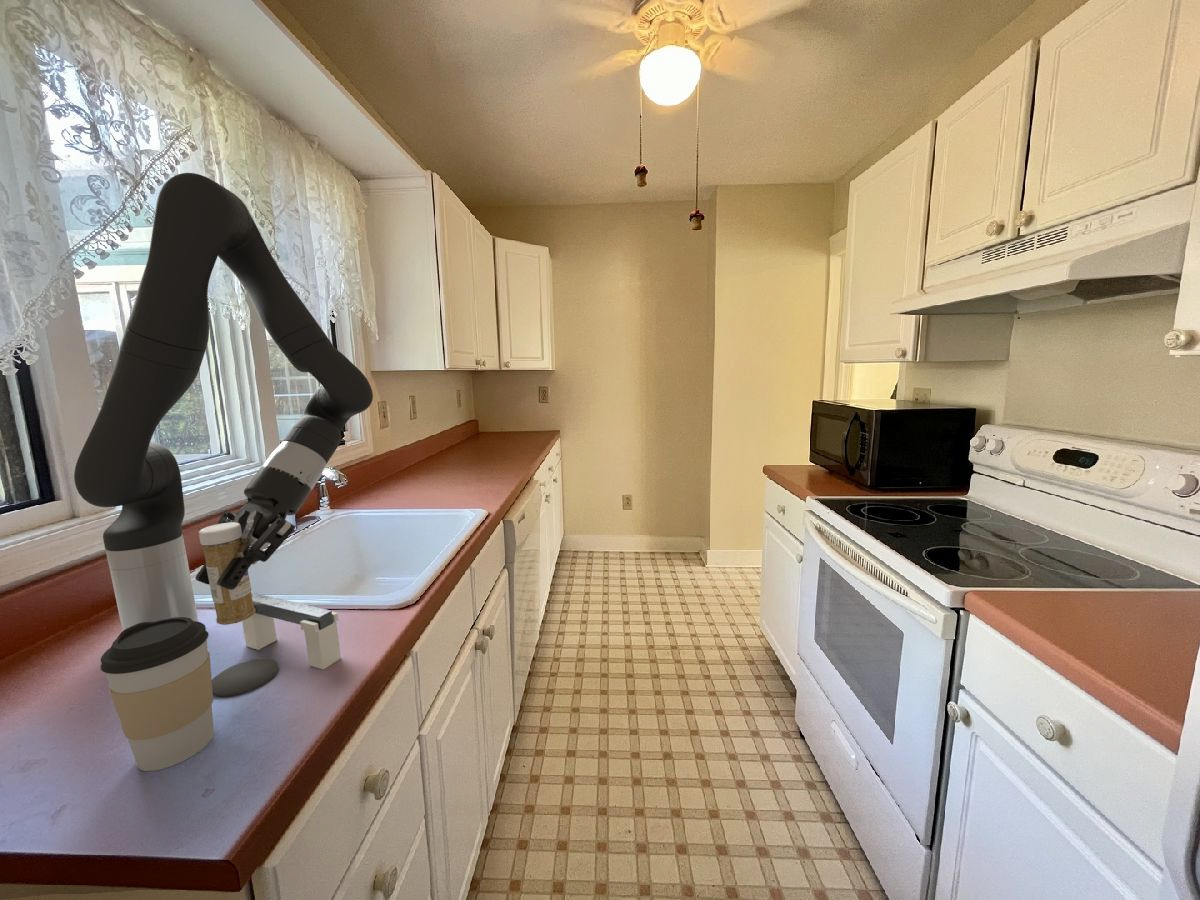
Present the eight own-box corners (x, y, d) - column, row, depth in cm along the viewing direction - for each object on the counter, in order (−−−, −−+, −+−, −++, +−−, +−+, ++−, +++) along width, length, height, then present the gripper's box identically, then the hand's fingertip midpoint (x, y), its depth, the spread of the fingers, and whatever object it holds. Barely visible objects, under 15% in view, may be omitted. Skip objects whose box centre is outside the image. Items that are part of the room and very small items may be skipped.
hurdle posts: (243, 647, 77) (236, 605, 76) (267, 635, 81) (261, 595, 80) (320, 671, 70) (314, 625, 69) (343, 656, 74) (337, 612, 73)
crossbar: (243, 610, 77) (241, 598, 77) (256, 604, 79) (254, 593, 79) (320, 629, 70) (319, 617, 70) (333, 623, 72) (331, 610, 72)
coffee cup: (244, 724, 60) (224, 612, 57) (164, 785, 51) (137, 655, 49) (187, 715, 62) (166, 606, 59) (101, 772, 53) (72, 647, 51)
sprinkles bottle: (255, 619, 67) (238, 526, 65) (214, 629, 65) (195, 534, 63) (256, 606, 71) (241, 519, 69) (218, 616, 69) (200, 525, 66)
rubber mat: (196, 689, 67) (195, 685, 67) (256, 657, 74) (255, 654, 74) (231, 702, 64) (231, 698, 64) (290, 668, 71) (290, 664, 71)
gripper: (237, 462, 74) (156, 567, 65) (299, 466, 68) (219, 581, 60) (277, 488, 80) (208, 587, 71) (337, 493, 74) (270, 602, 65)
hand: (214, 584), depth 65 cm, fingers closed on sprinkles bottle, 4 cm apart
